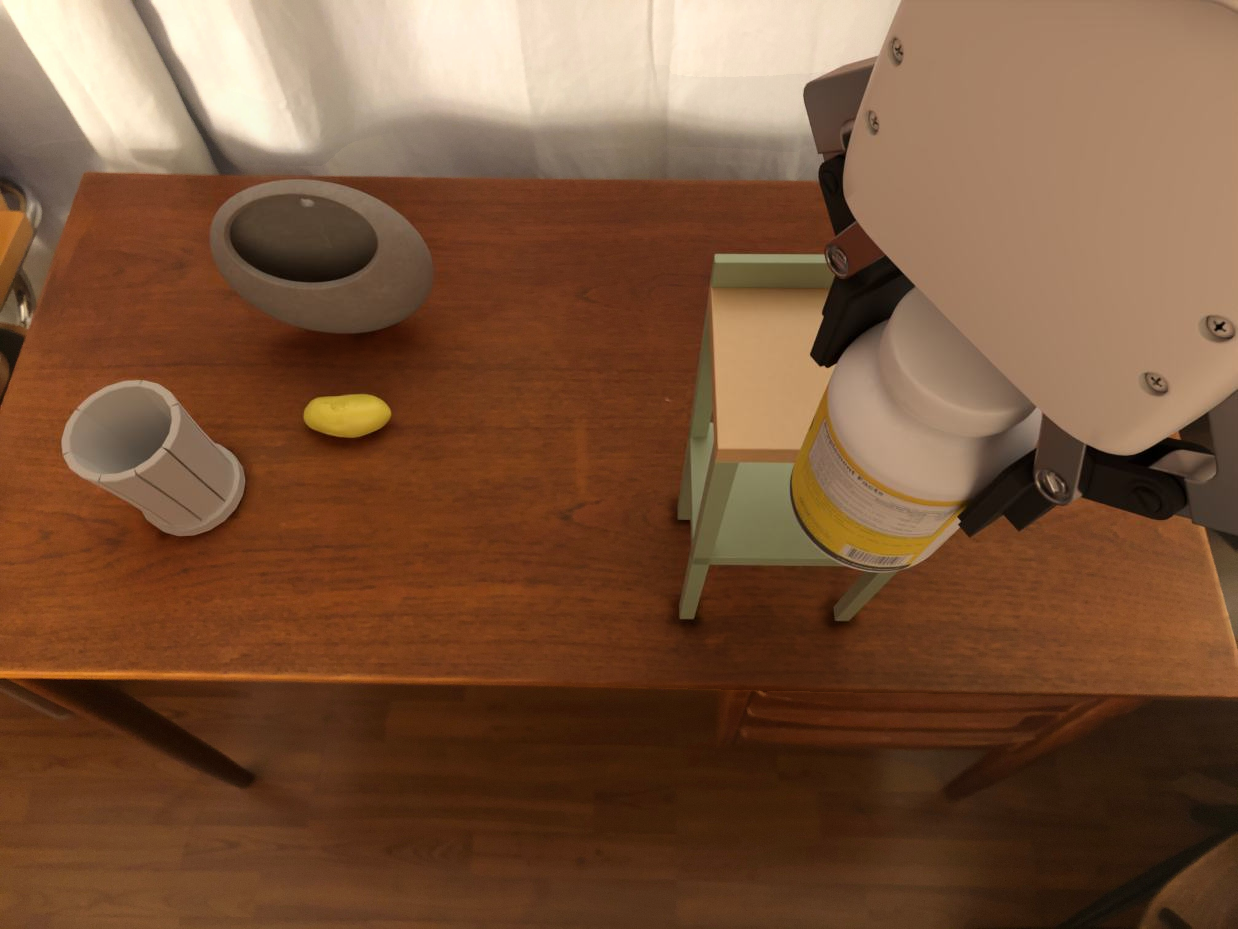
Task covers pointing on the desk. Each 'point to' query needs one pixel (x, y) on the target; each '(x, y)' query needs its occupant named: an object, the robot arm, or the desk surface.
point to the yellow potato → (347, 415)
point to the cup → (153, 457)
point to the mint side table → (756, 421)
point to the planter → (321, 256)
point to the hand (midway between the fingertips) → (921, 419)
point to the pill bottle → (905, 441)
